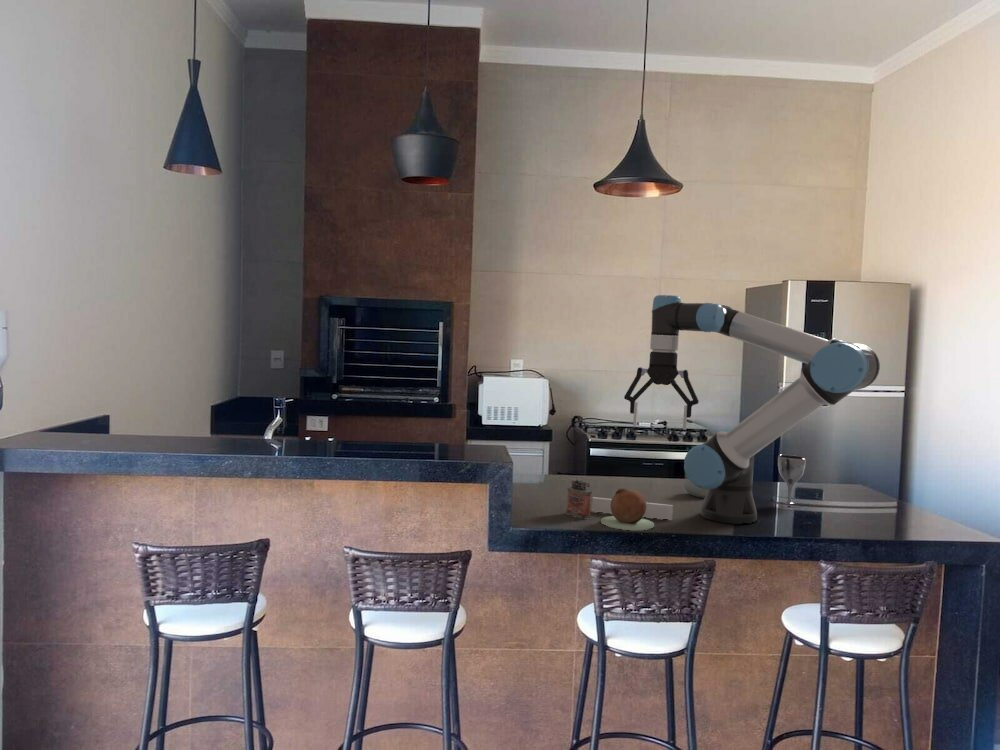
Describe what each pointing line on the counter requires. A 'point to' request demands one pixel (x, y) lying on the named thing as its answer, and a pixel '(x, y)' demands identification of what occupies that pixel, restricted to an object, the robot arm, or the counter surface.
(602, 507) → the low wall
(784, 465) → the wine glass
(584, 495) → the lighter
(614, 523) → the pad
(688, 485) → the air freshener
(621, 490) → the onion
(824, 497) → the counter surface
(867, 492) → the counter surface
